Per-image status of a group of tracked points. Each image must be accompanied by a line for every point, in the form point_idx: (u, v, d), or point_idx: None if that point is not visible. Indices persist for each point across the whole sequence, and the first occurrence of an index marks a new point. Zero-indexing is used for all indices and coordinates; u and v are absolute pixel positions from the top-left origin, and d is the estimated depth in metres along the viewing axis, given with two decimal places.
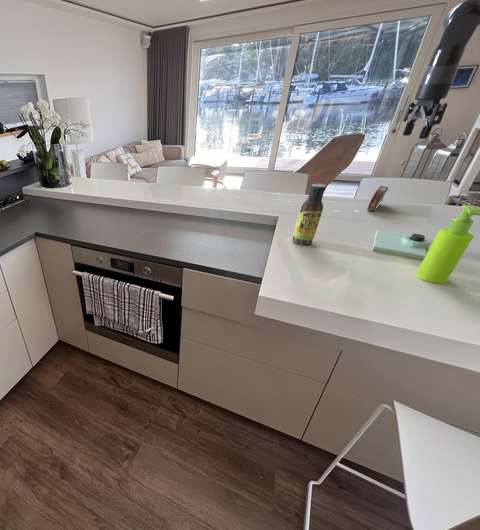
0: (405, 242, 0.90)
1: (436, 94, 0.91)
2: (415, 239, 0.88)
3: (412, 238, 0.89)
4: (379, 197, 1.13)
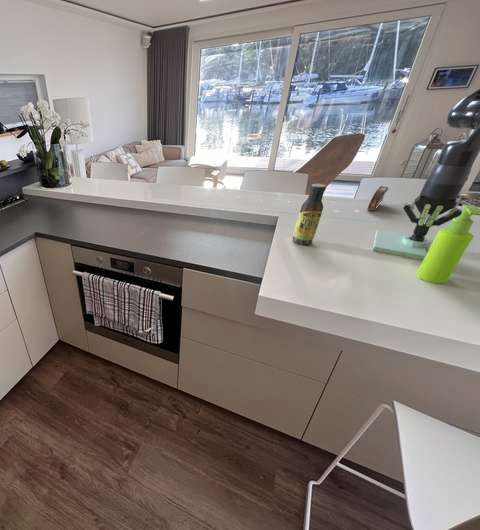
0: (405, 242, 0.90)
1: (458, 194, 0.79)
2: (415, 240, 0.88)
3: (412, 238, 0.89)
4: (379, 197, 1.13)
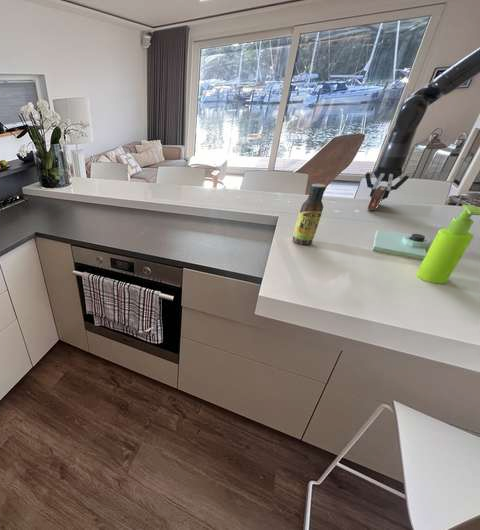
0: (405, 242, 0.90)
1: (403, 164, 1.09)
2: (415, 239, 0.88)
3: (412, 238, 0.89)
4: (379, 197, 1.13)
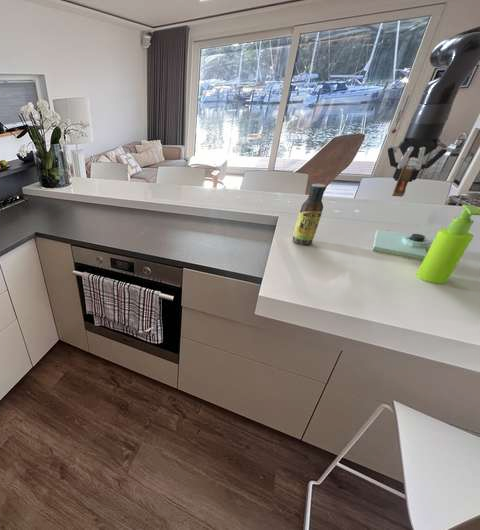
0: (405, 242, 0.90)
1: None
2: (415, 239, 0.88)
3: (412, 238, 0.89)
4: (408, 178, 0.86)
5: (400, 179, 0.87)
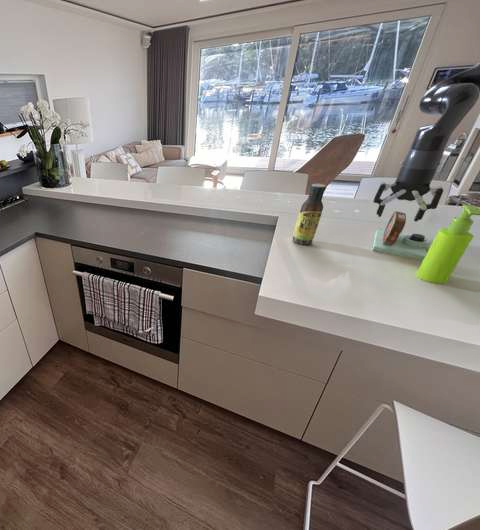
0: (405, 242, 0.90)
1: (432, 178, 0.81)
2: (415, 239, 0.88)
3: (412, 238, 0.89)
4: (401, 228, 0.86)
5: (393, 229, 0.87)
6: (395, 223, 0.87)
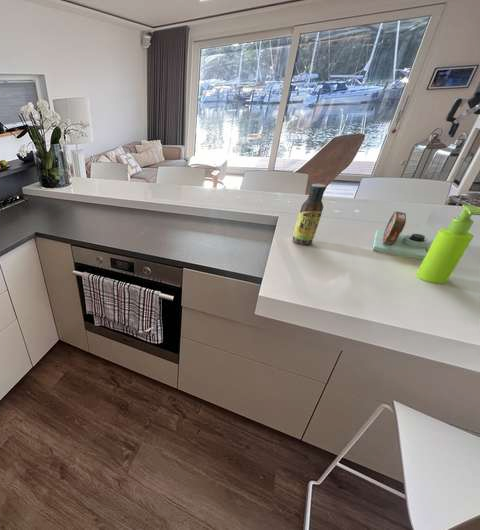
0: (405, 242, 0.90)
1: None
2: (415, 239, 0.88)
3: (412, 238, 0.89)
4: (401, 228, 0.86)
5: (393, 229, 0.87)
6: (395, 223, 0.87)
